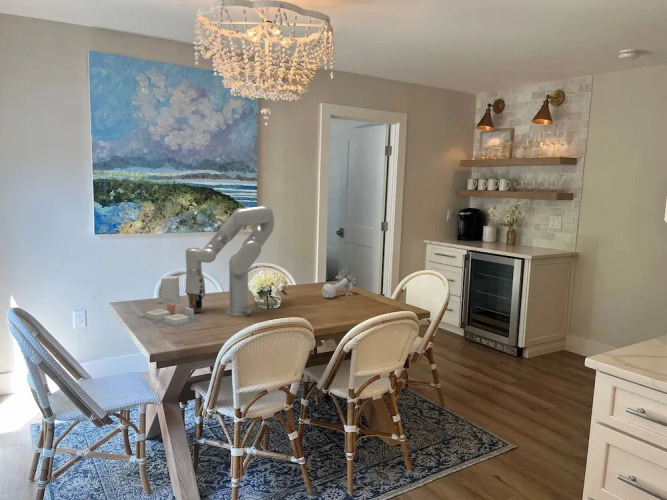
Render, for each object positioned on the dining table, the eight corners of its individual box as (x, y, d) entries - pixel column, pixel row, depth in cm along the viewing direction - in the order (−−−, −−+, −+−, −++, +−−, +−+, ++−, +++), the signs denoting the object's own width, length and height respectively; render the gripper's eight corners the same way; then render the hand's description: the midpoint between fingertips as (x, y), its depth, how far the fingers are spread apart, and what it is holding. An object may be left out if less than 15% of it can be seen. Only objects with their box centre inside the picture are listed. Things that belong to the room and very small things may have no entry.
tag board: (202, 322, 243) (202, 315, 243) (175, 329, 230) (175, 322, 230) (164, 312, 259) (164, 305, 259) (137, 318, 246) (137, 312, 245)
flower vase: (332, 310, 299) (358, 294, 316) (332, 284, 291) (359, 268, 308) (317, 303, 307) (343, 287, 324) (316, 277, 299) (343, 262, 316)
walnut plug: (202, 310, 257) (201, 293, 256) (195, 312, 254) (194, 295, 253) (196, 309, 260) (195, 292, 259) (189, 311, 256) (188, 294, 255)
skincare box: (180, 303, 280) (179, 275, 278) (176, 306, 273) (176, 278, 271) (165, 302, 279) (164, 275, 277) (161, 305, 273) (160, 277, 271)
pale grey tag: (193, 318, 245) (193, 309, 244) (191, 319, 244) (191, 309, 243) (187, 317, 248) (187, 307, 247) (185, 318, 246) (185, 308, 246)
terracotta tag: (175, 314, 253) (175, 304, 252) (172, 314, 252) (172, 305, 251) (169, 312, 255) (169, 303, 255) (167, 313, 254) (167, 303, 253)
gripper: (211, 272, 252) (212, 307, 255) (188, 269, 262) (190, 303, 264) (199, 274, 246) (201, 310, 249) (177, 271, 256) (179, 306, 258)
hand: (195, 306), depth 257 cm, fingers closed on walnut plug, 4 cm apart
